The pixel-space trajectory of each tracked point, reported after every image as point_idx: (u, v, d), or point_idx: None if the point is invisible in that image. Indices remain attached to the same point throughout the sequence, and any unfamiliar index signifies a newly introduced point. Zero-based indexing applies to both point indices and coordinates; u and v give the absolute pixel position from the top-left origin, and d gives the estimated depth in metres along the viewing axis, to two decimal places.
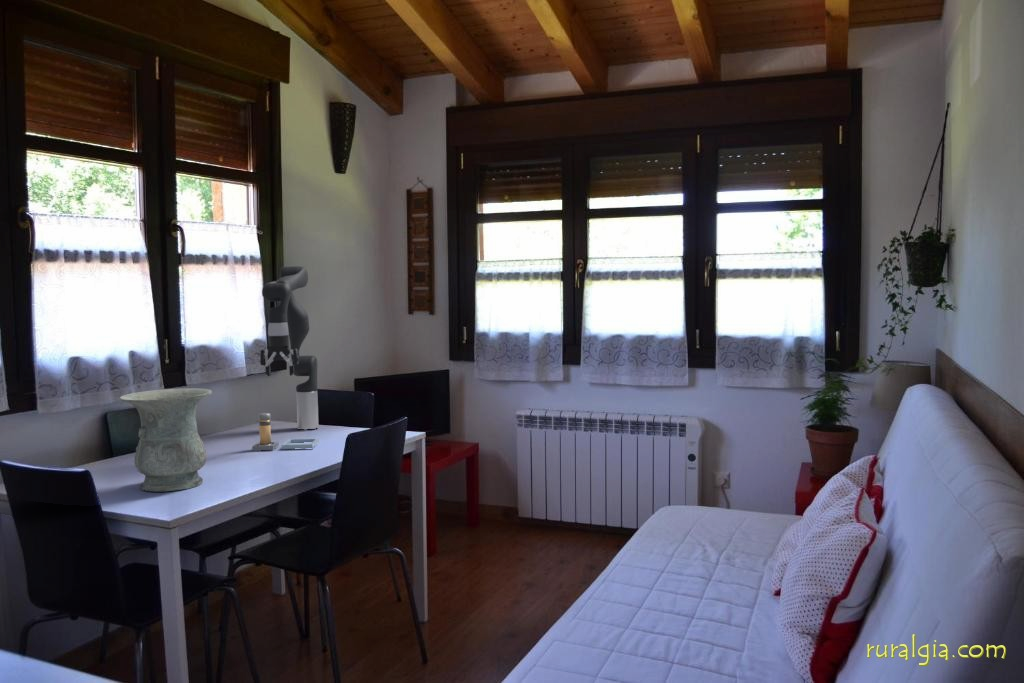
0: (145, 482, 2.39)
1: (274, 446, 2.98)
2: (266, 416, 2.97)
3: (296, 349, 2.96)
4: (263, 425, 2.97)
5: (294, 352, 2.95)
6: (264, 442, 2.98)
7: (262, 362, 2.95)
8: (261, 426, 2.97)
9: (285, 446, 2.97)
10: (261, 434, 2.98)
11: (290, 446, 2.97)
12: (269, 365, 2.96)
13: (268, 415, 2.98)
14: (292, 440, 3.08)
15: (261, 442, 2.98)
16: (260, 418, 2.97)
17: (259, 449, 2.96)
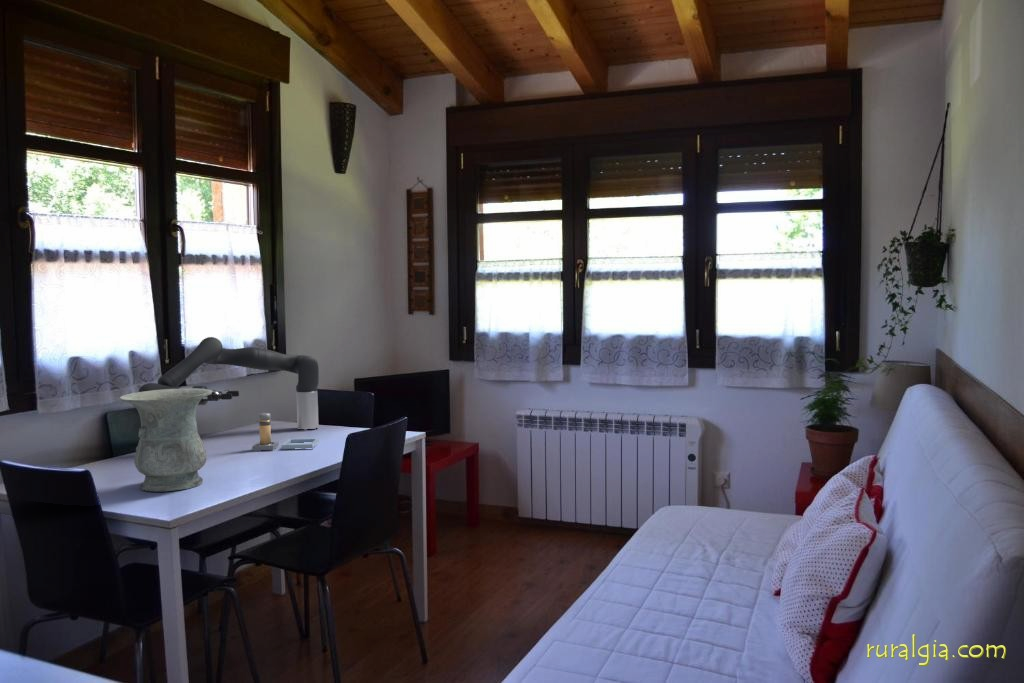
0: (145, 482, 2.39)
1: (274, 446, 2.98)
2: (266, 416, 2.97)
3: None
4: (263, 425, 2.97)
5: (206, 400, 2.92)
6: (264, 442, 2.98)
7: None
8: (261, 426, 2.97)
9: (285, 446, 2.97)
10: (261, 434, 2.98)
11: (290, 446, 2.97)
12: (228, 392, 3.02)
13: (268, 415, 2.98)
14: (292, 440, 3.08)
15: (261, 442, 2.98)
16: (260, 418, 2.97)
17: (259, 449, 2.96)
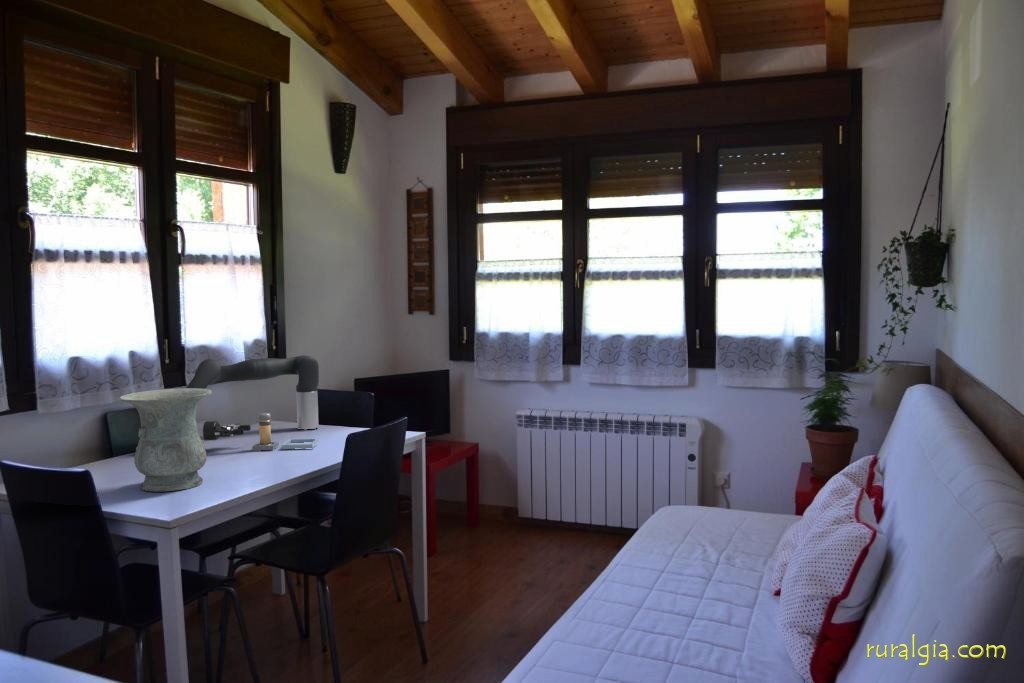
0: (145, 482, 2.39)
1: (274, 446, 2.98)
2: (266, 416, 2.97)
3: (215, 433, 2.92)
4: (263, 425, 2.97)
5: None
6: (264, 442, 2.98)
7: None
8: (261, 426, 2.97)
9: (285, 446, 2.97)
10: (261, 434, 2.98)
11: (290, 446, 2.97)
12: (239, 427, 3.03)
13: (268, 415, 2.98)
14: (292, 440, 3.08)
15: (261, 442, 2.98)
16: (260, 418, 2.97)
17: (259, 449, 2.96)
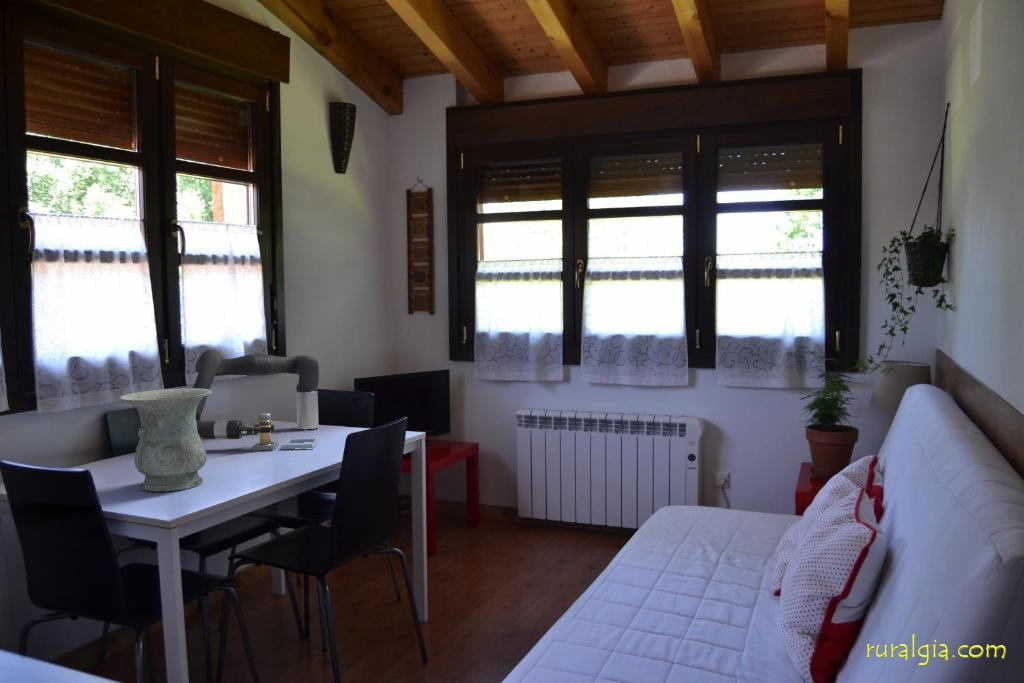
0: (145, 482, 2.39)
1: (274, 446, 2.98)
2: (266, 416, 2.97)
3: (242, 432, 2.93)
4: (263, 425, 2.97)
5: None
6: (264, 442, 2.98)
7: None
8: (261, 426, 2.97)
9: (285, 446, 2.97)
10: (261, 434, 2.98)
11: (290, 446, 2.97)
12: None
13: (268, 415, 2.98)
14: (292, 440, 3.08)
15: (261, 442, 2.98)
16: (260, 418, 2.97)
17: (259, 449, 2.96)
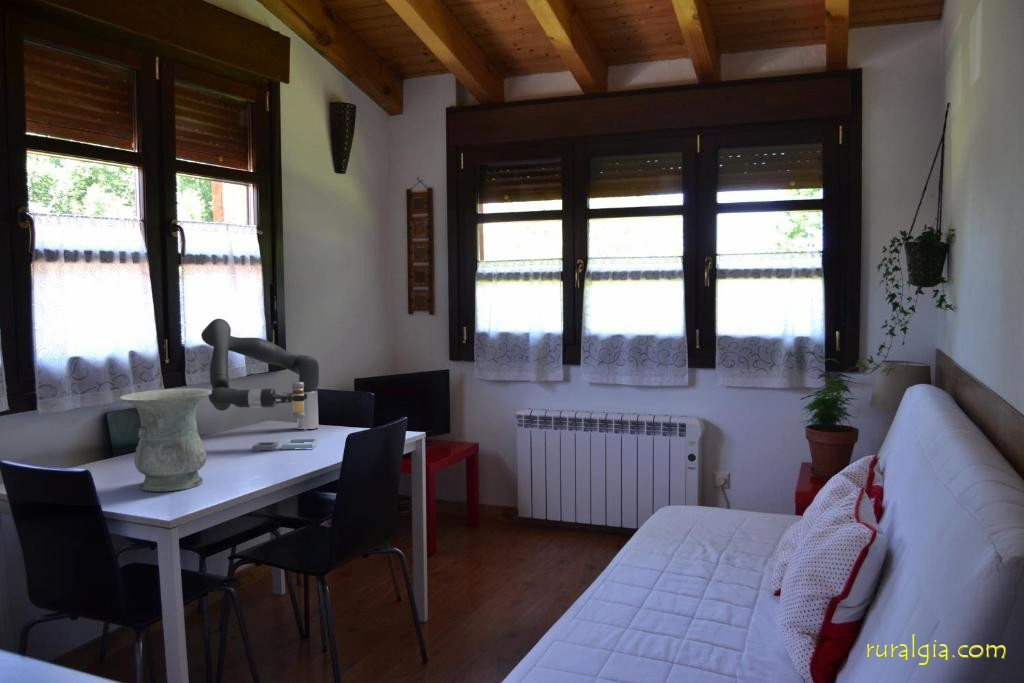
0: (145, 482, 2.39)
1: (274, 446, 2.98)
2: (300, 384, 3.00)
3: (276, 400, 2.95)
4: (297, 393, 3.00)
5: (279, 402, 2.96)
6: (298, 410, 3.01)
7: None
8: (295, 394, 3.00)
9: (285, 446, 2.97)
10: (295, 402, 3.00)
11: (290, 446, 2.97)
12: None
13: (302, 384, 3.01)
14: (292, 440, 3.08)
15: (295, 410, 3.01)
16: (294, 386, 3.00)
17: (259, 449, 2.96)
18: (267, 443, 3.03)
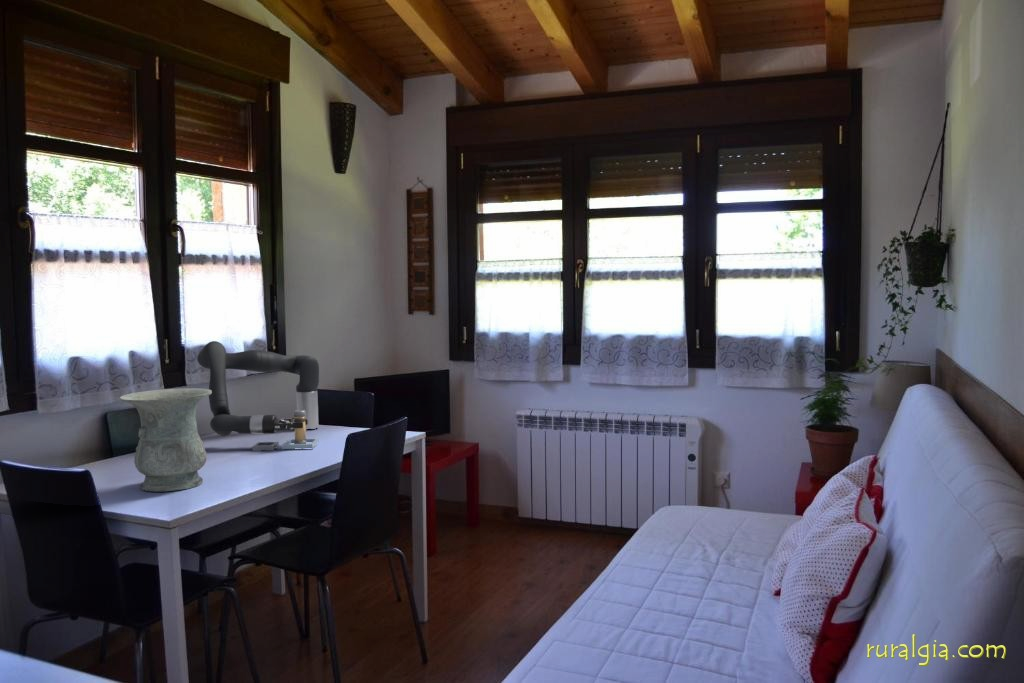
0: (145, 482, 2.39)
1: (274, 446, 2.98)
2: (301, 413, 3.01)
3: (275, 427, 2.96)
4: None
5: (278, 429, 2.97)
6: (299, 438, 3.01)
7: None
8: None
9: (285, 446, 2.97)
10: (296, 431, 3.01)
11: (290, 446, 2.97)
12: None
13: (303, 412, 3.01)
14: (292, 440, 3.08)
15: (296, 438, 3.02)
16: (295, 415, 3.01)
17: (259, 449, 2.96)
18: (267, 443, 3.03)
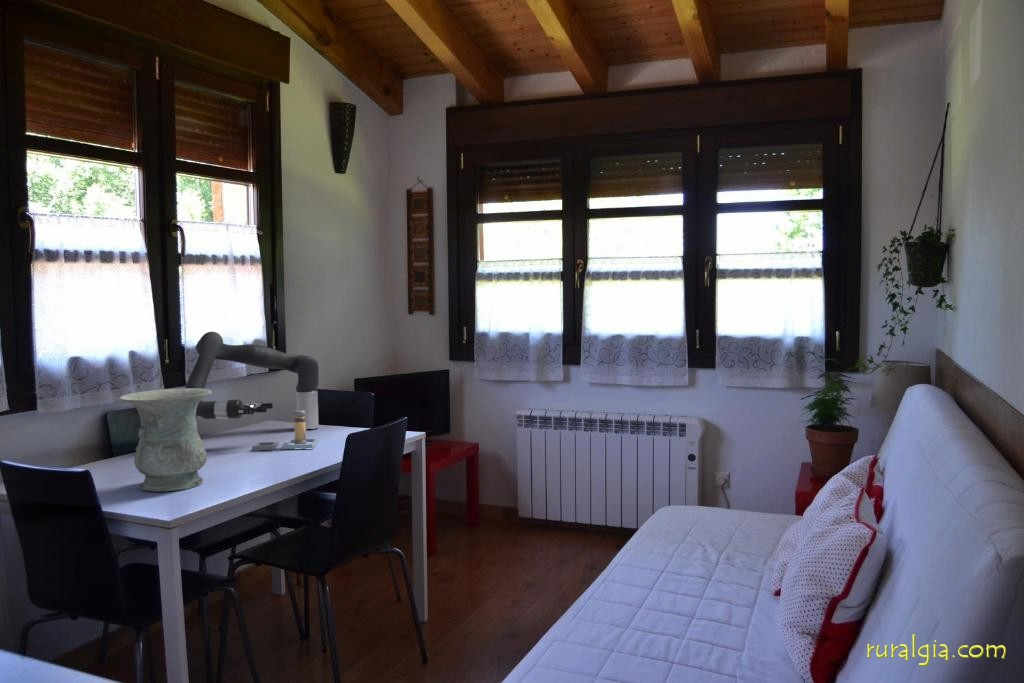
0: (145, 482, 2.39)
1: (274, 446, 2.98)
2: (301, 413, 3.01)
3: (238, 411, 2.96)
4: (298, 422, 3.01)
5: None
6: (299, 438, 3.01)
7: None
8: (296, 423, 3.01)
9: (285, 446, 2.97)
10: (296, 431, 3.01)
11: (290, 446, 2.97)
12: (262, 405, 3.07)
13: (303, 412, 3.01)
14: (292, 440, 3.08)
15: (296, 438, 3.02)
16: (295, 415, 3.01)
17: (259, 449, 2.96)
18: (267, 443, 3.03)
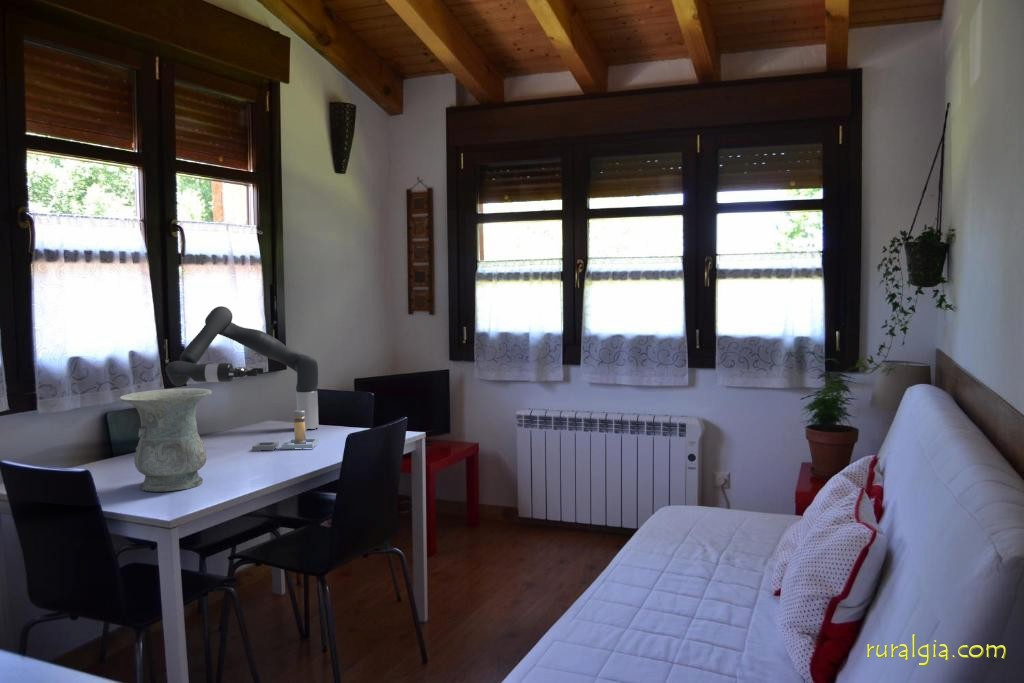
0: (145, 482, 2.39)
1: (274, 446, 2.98)
2: (301, 413, 3.01)
3: (229, 374, 2.98)
4: (298, 422, 3.01)
5: (232, 377, 2.98)
6: (299, 438, 3.01)
7: None
8: (296, 423, 3.01)
9: (285, 446, 2.97)
10: (296, 431, 3.01)
11: (290, 446, 2.97)
12: (252, 370, 3.09)
13: (303, 412, 3.01)
14: (292, 440, 3.08)
15: (296, 438, 3.02)
16: (295, 415, 3.01)
17: (259, 449, 2.96)
18: (267, 443, 3.03)
